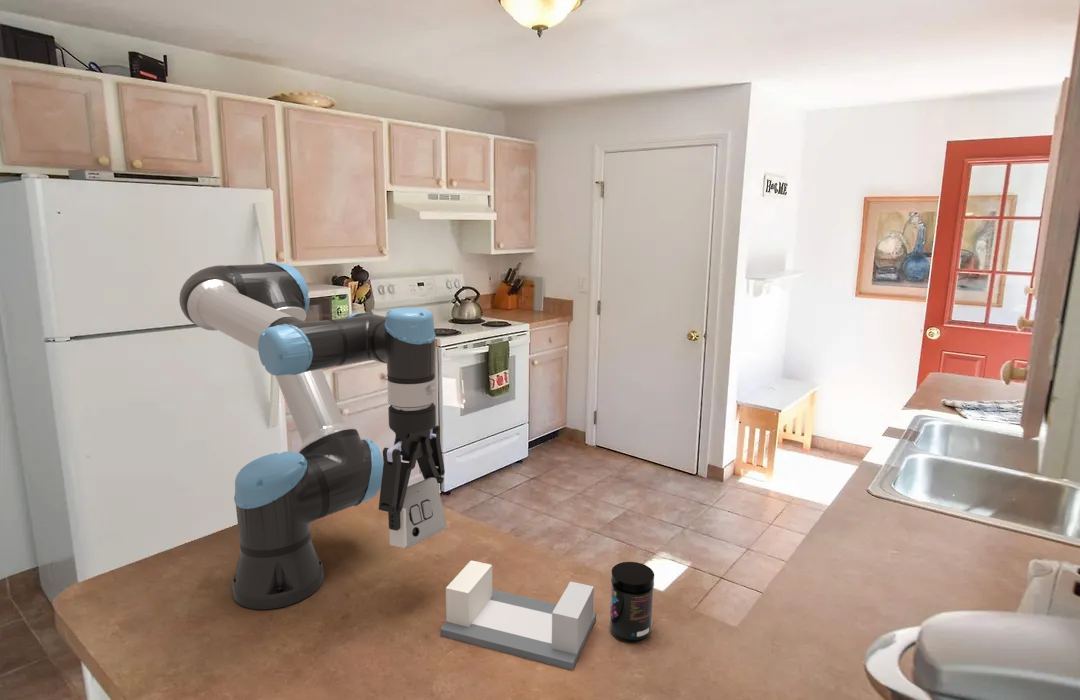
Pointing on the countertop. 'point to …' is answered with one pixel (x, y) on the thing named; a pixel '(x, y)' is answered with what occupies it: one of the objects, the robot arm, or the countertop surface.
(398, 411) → the robot arm
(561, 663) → the rail plate
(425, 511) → the electrical switch
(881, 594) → the countertop surface
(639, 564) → the supplement container
